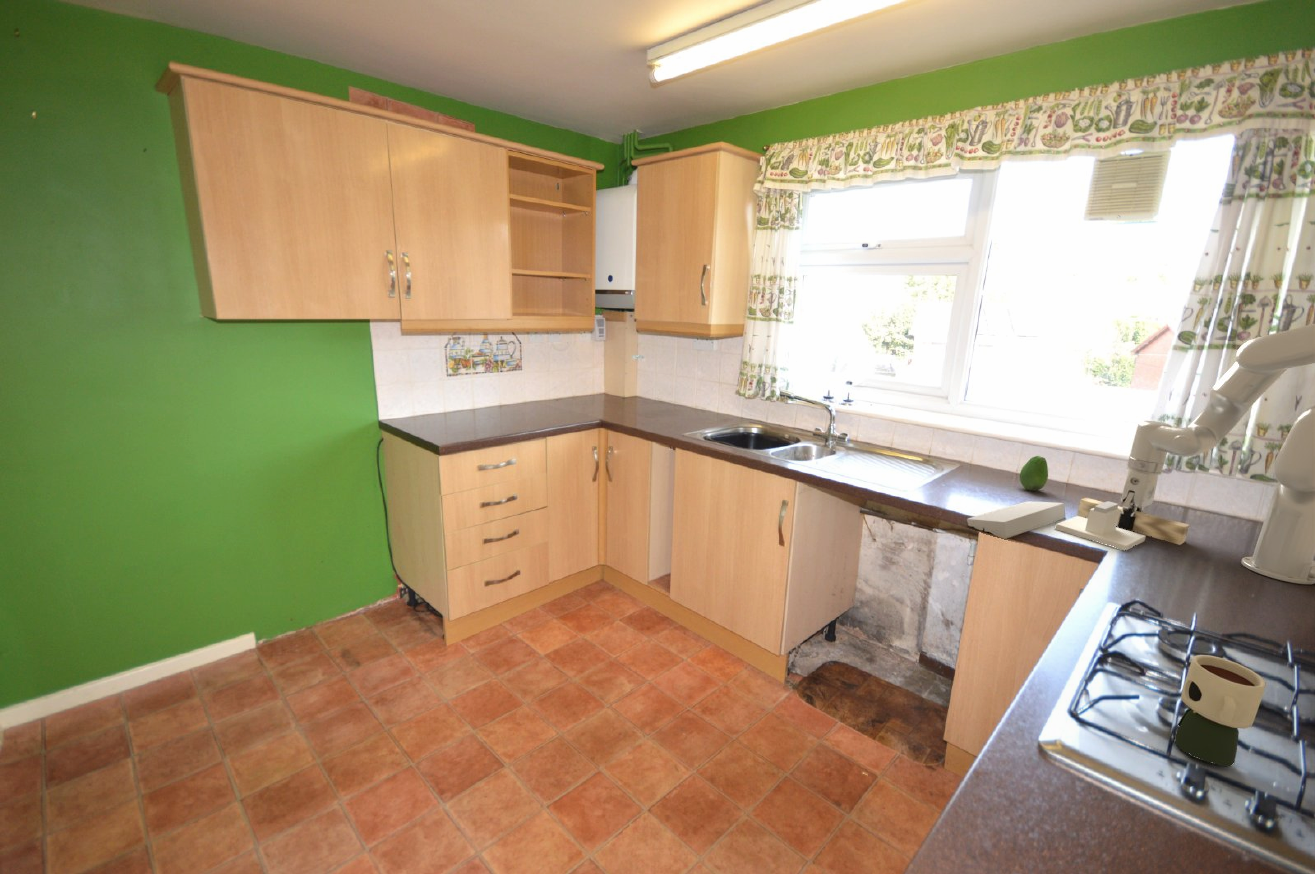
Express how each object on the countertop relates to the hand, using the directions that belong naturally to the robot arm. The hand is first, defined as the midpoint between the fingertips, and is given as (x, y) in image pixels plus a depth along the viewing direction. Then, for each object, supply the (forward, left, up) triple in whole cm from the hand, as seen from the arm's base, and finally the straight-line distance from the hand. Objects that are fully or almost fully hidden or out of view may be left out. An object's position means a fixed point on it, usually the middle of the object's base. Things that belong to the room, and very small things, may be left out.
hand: (1128, 526), depth 164 cm
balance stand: (+2, +15, 0) cm, 15 cm away
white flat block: (+18, +26, -1) cm, 32 cm away
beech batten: (0, 0, -1) cm, 0 cm away
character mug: (-39, +98, -1) cm, 106 cm away
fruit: (+31, -11, -1) cm, 33 cm away
